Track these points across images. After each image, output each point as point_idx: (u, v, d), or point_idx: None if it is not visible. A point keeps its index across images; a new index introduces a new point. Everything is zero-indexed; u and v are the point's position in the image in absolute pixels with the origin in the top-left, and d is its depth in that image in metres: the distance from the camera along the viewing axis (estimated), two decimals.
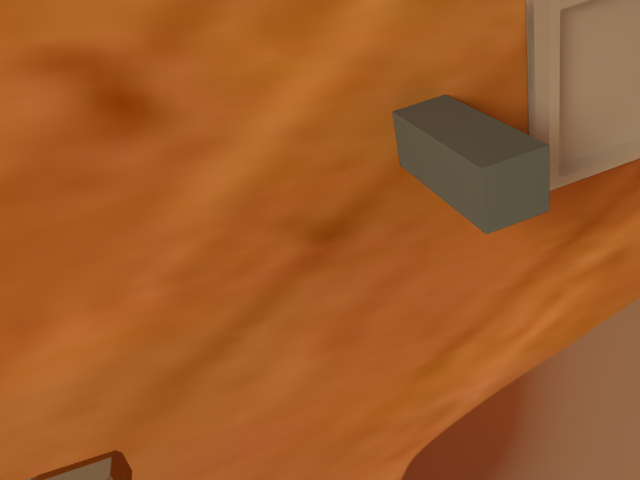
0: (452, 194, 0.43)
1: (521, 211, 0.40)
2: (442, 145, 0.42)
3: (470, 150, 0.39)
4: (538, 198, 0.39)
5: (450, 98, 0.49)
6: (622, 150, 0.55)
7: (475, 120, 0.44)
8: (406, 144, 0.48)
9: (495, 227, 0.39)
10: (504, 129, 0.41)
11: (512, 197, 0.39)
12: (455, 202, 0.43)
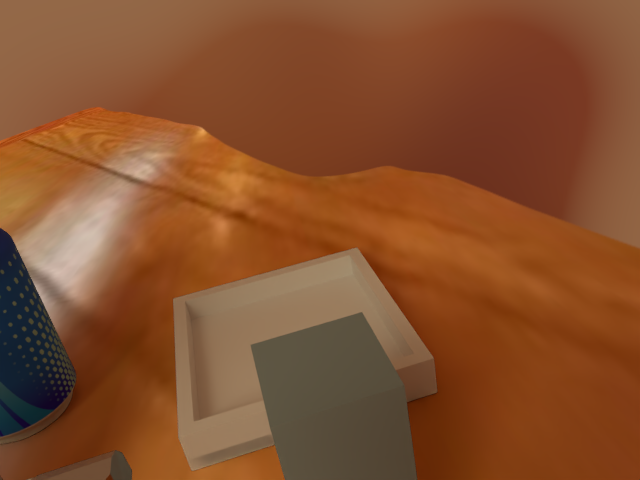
0: (387, 479, 0.23)
1: (360, 346, 0.23)
2: None
3: None
4: (338, 331, 0.24)
5: None
6: (378, 304, 0.46)
7: None
8: None
9: (389, 375, 0.21)
10: None
11: (333, 365, 0.22)
12: (399, 469, 0.23)
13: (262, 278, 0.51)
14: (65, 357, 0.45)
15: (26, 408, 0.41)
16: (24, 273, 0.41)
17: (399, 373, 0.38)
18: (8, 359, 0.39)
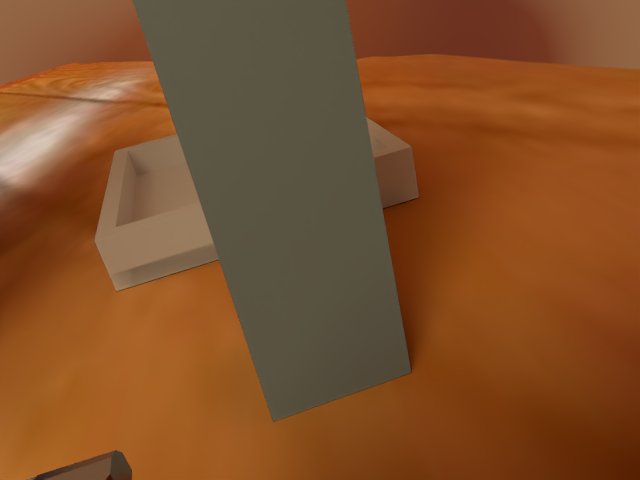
0: (321, 113, 0.16)
1: None
2: (201, 181, 0.15)
3: None
4: None
5: None
6: None
7: None
8: (324, 349, 0.19)
9: None
10: None
11: None
12: (338, 96, 0.15)
13: None
14: None
15: None
16: None
17: None
18: None
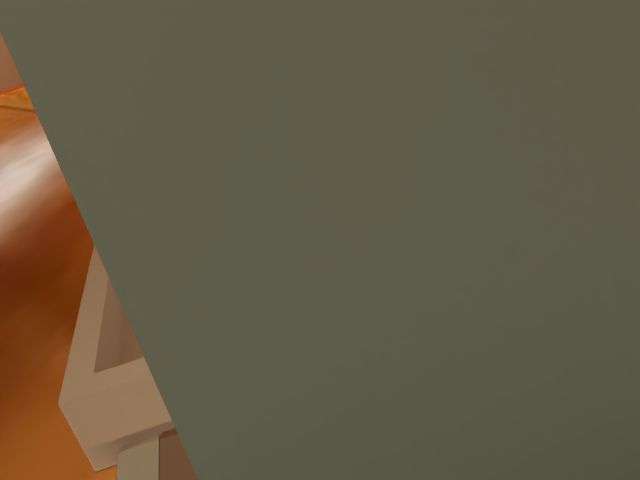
0: None
1: None
2: None
3: None
4: None
5: None
6: None
7: None
8: None
9: None
10: None
11: None
12: None
13: None
14: None
15: None
16: None
17: None
18: None
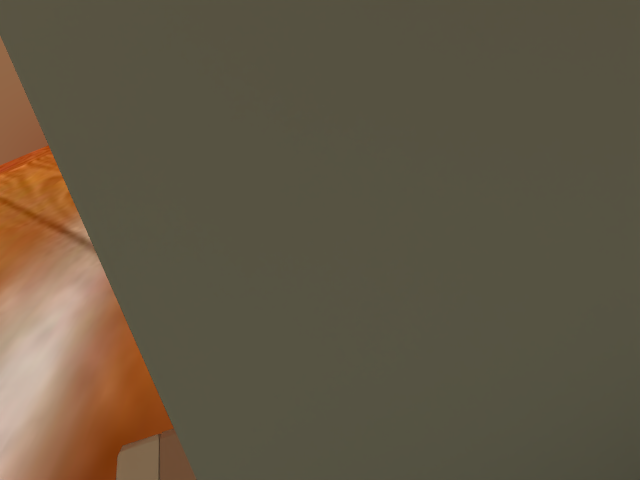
0: None
1: None
2: None
3: None
4: None
5: None
6: None
7: None
8: None
9: None
10: None
11: None
12: None
13: None
14: None
15: None
16: None
17: None
18: None
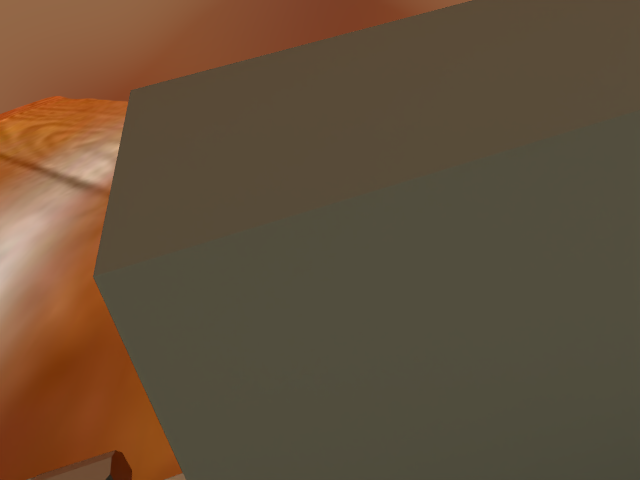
0: None
1: (548, 17, 0.06)
2: None
3: None
4: (438, 21, 0.07)
5: None
6: None
7: None
8: None
9: None
10: None
11: (456, 58, 0.05)
12: None
13: None
14: None
15: None
16: None
17: None
18: None
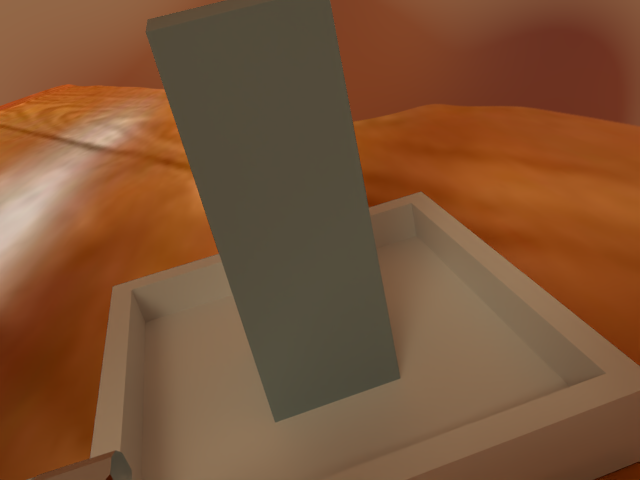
0: (318, 150, 0.18)
1: None
2: (212, 211, 0.17)
3: None
4: None
5: None
6: (482, 279, 0.25)
7: None
8: (321, 357, 0.21)
9: None
10: None
11: (243, 2, 0.17)
12: (333, 136, 0.17)
13: None
14: None
15: None
16: None
17: (585, 420, 0.17)
18: None
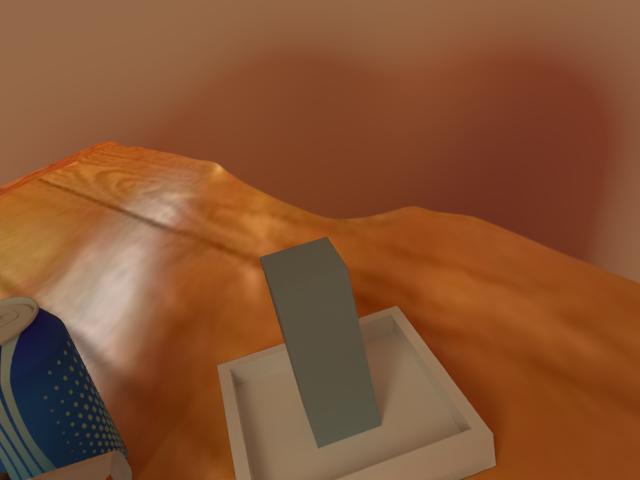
0: (342, 328, 0.39)
1: (324, 252, 0.39)
2: (294, 355, 0.39)
3: (280, 320, 0.38)
4: (312, 247, 0.41)
5: (300, 395, 0.46)
6: (426, 370, 0.46)
7: (286, 347, 0.43)
8: (341, 416, 0.42)
9: (339, 264, 0.38)
10: (275, 310, 0.42)
11: (308, 262, 0.39)
12: (348, 322, 0.39)
13: None
14: (117, 435, 0.45)
15: None
16: (77, 359, 0.41)
17: (459, 451, 0.38)
18: (66, 448, 0.39)
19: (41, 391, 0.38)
